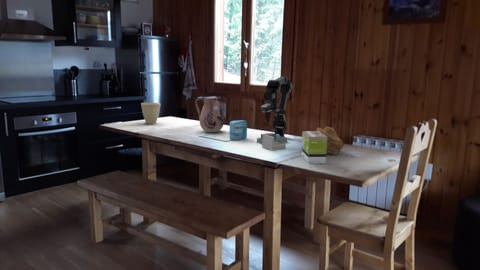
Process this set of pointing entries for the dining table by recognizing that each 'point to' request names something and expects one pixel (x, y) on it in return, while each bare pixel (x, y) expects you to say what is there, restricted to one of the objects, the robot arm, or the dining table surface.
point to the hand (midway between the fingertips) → (272, 123)
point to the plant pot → (150, 112)
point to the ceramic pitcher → (210, 114)
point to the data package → (238, 130)
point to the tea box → (314, 146)
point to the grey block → (271, 143)
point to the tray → (280, 140)
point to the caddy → (276, 136)
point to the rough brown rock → (332, 140)
